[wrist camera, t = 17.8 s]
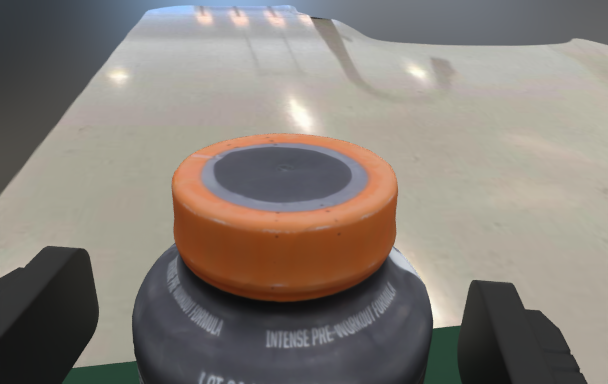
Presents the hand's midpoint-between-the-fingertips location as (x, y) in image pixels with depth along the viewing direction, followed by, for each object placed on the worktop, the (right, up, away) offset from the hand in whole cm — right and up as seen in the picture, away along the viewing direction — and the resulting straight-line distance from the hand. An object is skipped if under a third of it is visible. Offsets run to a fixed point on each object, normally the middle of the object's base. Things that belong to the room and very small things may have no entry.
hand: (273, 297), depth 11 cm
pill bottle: (0, -8, +3) cm, 8 cm away
